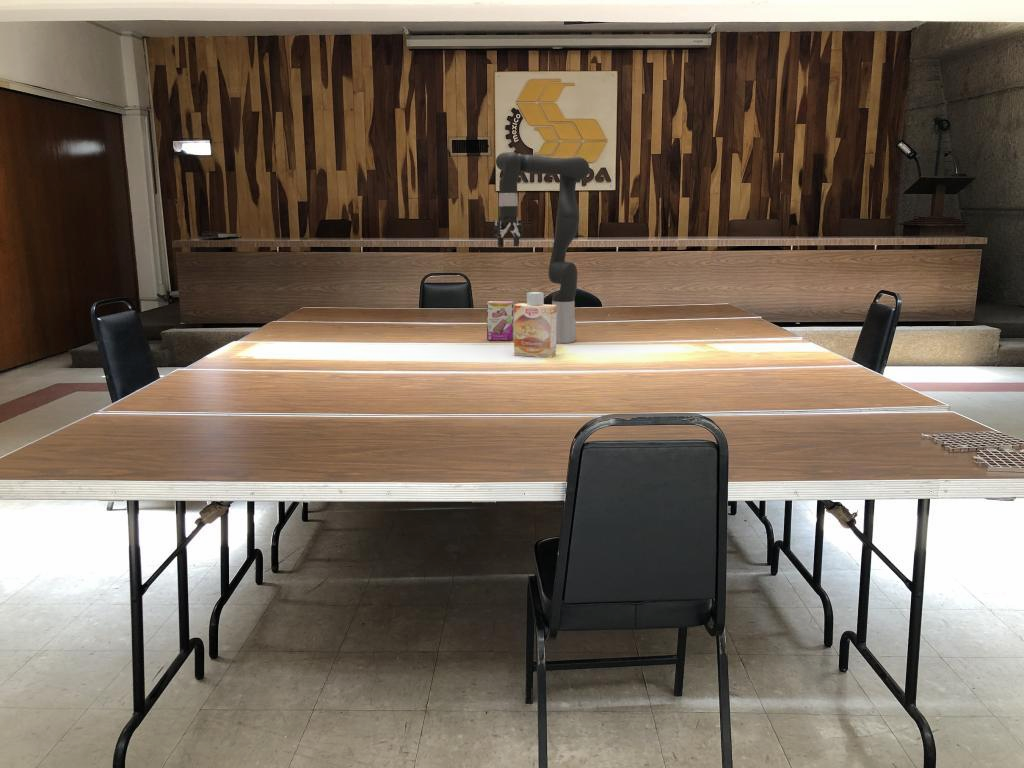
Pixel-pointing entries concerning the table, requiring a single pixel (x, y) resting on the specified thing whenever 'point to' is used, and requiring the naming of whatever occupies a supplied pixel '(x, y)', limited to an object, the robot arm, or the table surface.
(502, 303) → the candy bar box
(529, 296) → the blue-grey cube
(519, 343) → the coffeecake box
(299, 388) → the table surface
